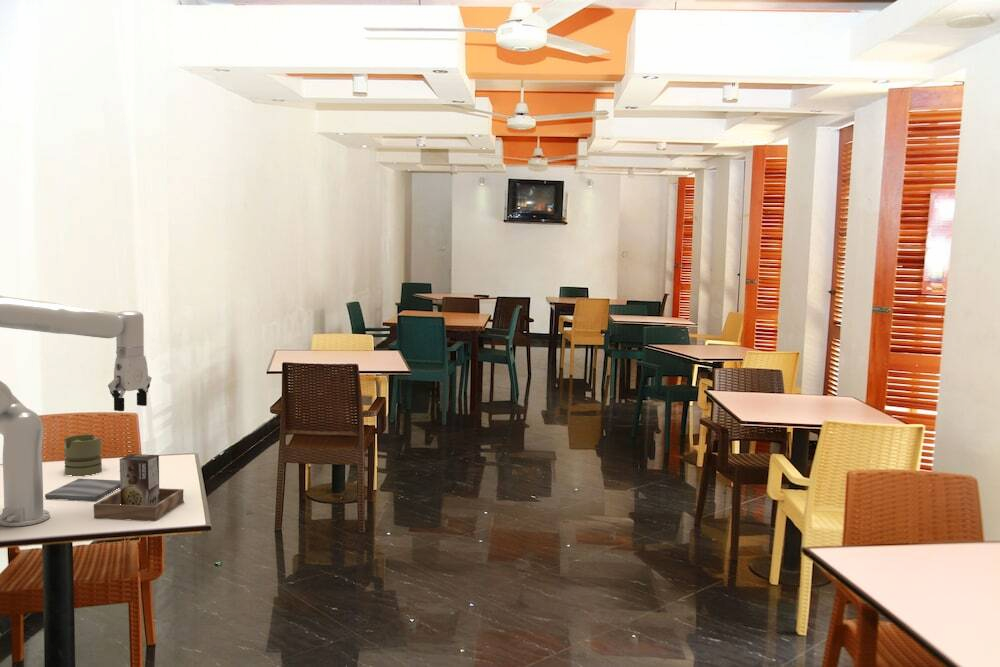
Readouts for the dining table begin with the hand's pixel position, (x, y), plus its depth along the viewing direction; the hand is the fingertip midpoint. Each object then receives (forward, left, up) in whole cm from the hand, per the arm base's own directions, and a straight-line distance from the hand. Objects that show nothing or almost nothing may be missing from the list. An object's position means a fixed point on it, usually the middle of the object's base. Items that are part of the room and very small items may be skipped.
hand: (130, 408), depth 245 cm
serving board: (+7, +18, -29) cm, 35 cm away
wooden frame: (-8, -7, -29) cm, 31 cm away
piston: (+29, +32, -29) cm, 52 cm away
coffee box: (-8, -7, -29) cm, 31 cm away
